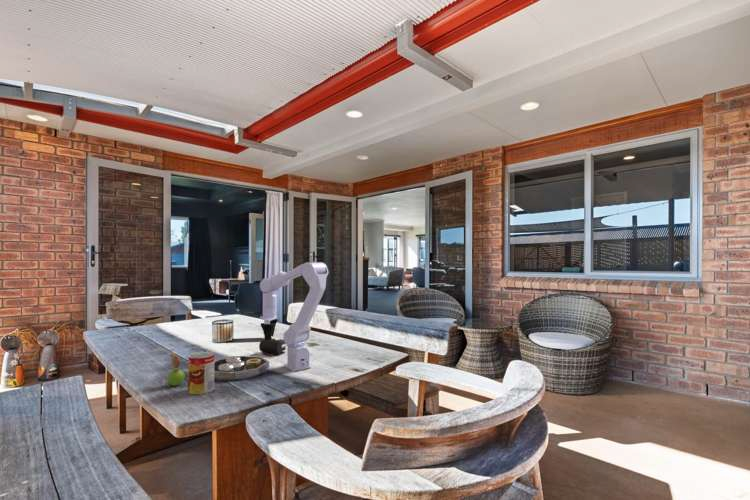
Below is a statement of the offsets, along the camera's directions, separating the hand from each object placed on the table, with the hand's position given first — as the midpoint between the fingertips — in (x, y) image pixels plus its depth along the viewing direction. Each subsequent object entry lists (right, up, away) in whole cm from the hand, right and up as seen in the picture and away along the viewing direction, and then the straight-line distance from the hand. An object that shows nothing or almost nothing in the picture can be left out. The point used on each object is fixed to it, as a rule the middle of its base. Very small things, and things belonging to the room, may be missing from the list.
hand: (269, 338), depth 156 cm
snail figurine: (-24, -10, -29) cm, 39 cm away
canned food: (-13, -9, -34) cm, 38 cm away
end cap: (-2, -11, +12) cm, 16 cm away
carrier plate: (-8, -10, -14) cm, 19 cm away
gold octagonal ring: (-2, -9, -13) cm, 16 cm away
